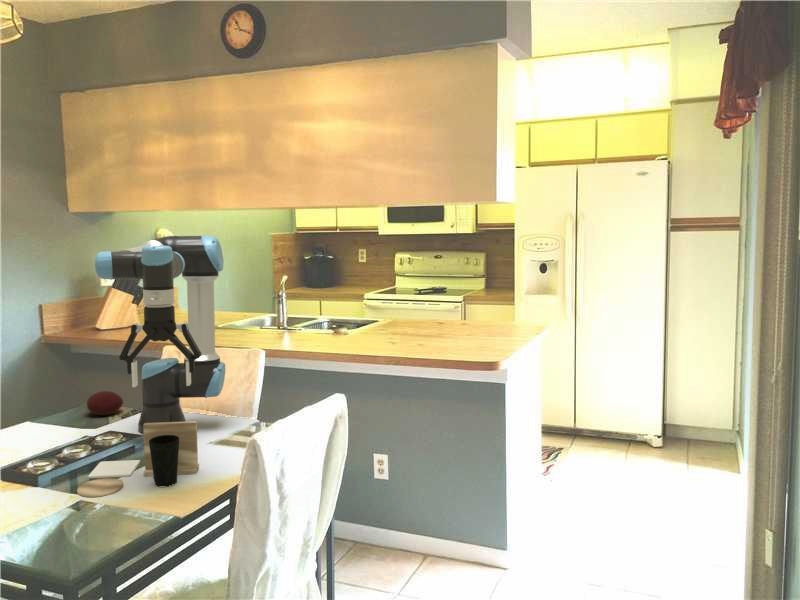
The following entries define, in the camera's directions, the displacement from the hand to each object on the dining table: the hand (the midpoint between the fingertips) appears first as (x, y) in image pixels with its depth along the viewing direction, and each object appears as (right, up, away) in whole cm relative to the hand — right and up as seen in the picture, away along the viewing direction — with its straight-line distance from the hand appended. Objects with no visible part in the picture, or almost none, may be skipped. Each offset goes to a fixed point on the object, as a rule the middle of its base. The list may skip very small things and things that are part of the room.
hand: (162, 385), depth 172 cm
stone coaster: (-18, -25, +12) cm, 33 cm away
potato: (-44, -19, +64) cm, 80 cm away
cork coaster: (-16, -27, -1) cm, 31 cm away
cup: (0, -27, +3) cm, 27 cm away
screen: (-1, -26, +11) cm, 28 cm away
